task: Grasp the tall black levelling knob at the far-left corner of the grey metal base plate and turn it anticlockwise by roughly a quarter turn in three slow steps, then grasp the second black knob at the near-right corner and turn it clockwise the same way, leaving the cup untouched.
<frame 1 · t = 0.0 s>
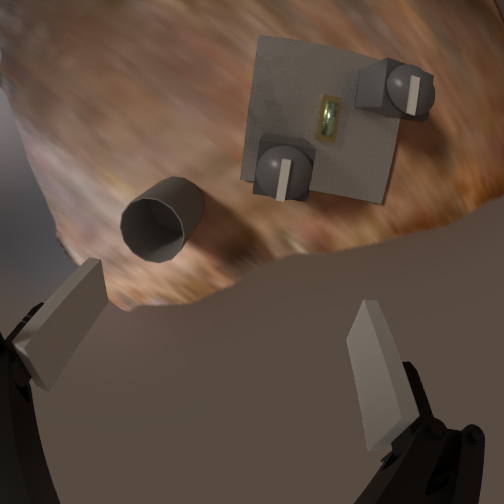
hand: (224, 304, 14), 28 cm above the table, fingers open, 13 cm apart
cup: (177, 203, 41), on the table
bubble vial: (327, 118, 33), resting on base plate
knob a: (393, 91, 25), point 7 cm above the table, hinge at 0.0°
base plate: (325, 118, 34), on the table
knob b: (282, 163, 31), point 7 cm above the table, hinge at 0.0°
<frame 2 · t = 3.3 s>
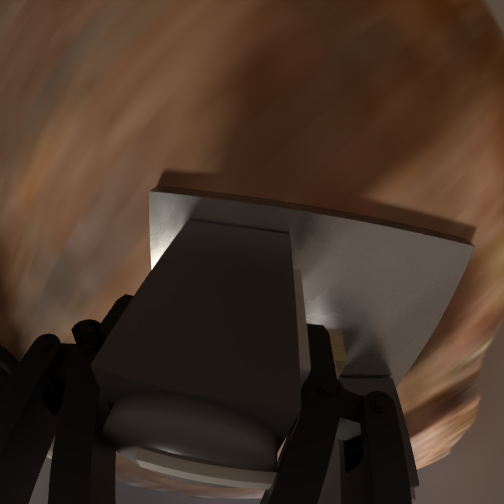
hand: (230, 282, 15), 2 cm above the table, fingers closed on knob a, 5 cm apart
bubble vial: (298, 352, 19), resting on base plate
knob a: (214, 344, 11), point 7 cm above the table, hinge at 0.0°, touching gripper
base plate: (297, 342, 20), on the table
knob b: (361, 454, 16), point 7 cm above the table, hinge at 0.0°
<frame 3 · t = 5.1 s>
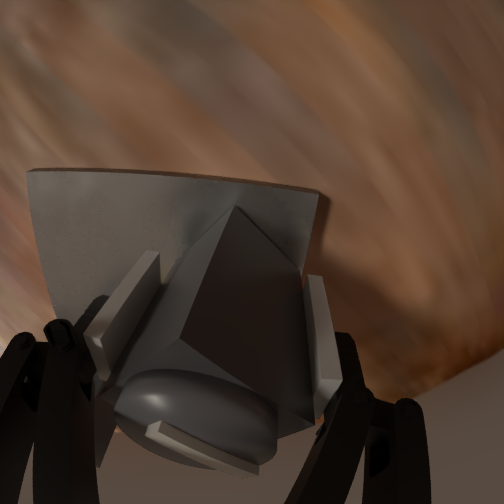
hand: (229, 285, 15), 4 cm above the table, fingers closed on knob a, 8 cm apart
knob a: (218, 333, 12), point 7 cm above the table, hinge at 50.9°, touching gripper
base plate: (152, 305, 21), on the table
knob b: (78, 401, 17), point 7 cm above the table, hinge at 0.0°
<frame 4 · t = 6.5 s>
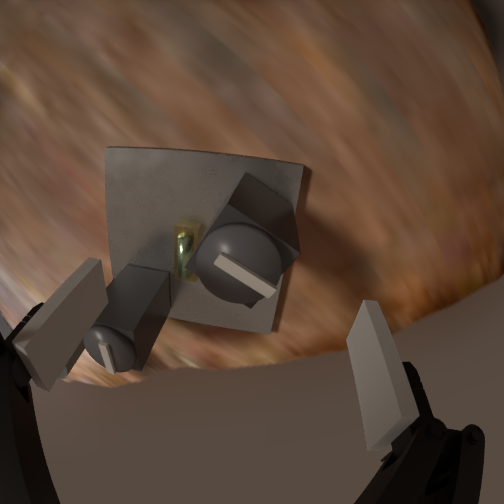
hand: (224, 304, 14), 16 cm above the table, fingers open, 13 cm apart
bubble vial: (189, 248, 30), resting on base plate
knob a: (246, 234, 22), point 7 cm above the table, hinge at 62.5°
base plate: (192, 244, 31), on the table
knob b: (128, 318, 27), point 7 cm above the table, hinge at 0.0°
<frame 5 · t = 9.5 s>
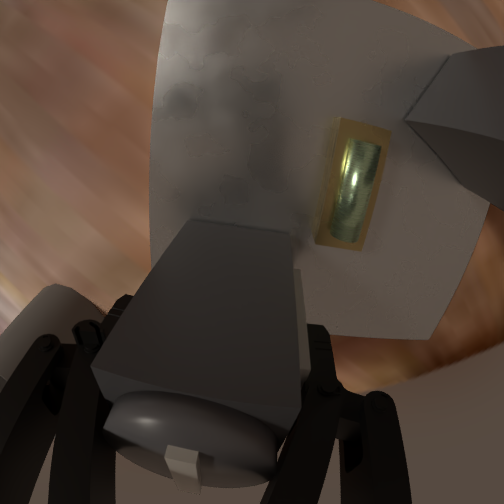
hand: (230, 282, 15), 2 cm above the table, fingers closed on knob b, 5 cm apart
cup: (75, 321, 22), on the table
bubble vial: (346, 180, 14), resting on base plate
base plate: (341, 175, 14), on the table
knob b: (214, 344, 11), point 7 cm above the table, hinge at 0.0°, touching gripper
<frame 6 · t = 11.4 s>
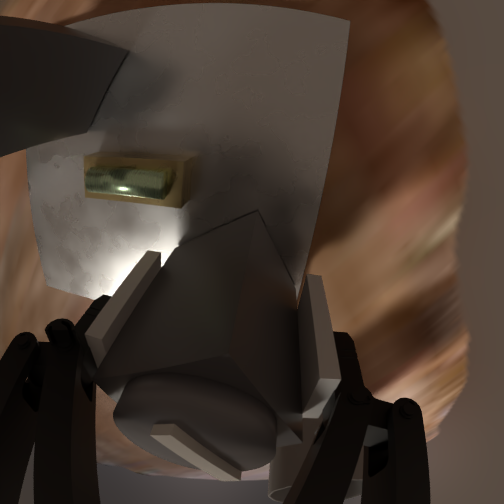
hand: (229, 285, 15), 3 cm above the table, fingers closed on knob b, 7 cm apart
cup: (317, 398, 25), on the table
bubble vial: (141, 173, 15), resting on base plate
knob a: (7, 77, 7), point 7 cm above the table, hinge at 63.3°
base plate: (148, 169, 16), on the table
knob b: (218, 335, 12), point 7 cm above the table, hinge at -56.6°, touching gripper
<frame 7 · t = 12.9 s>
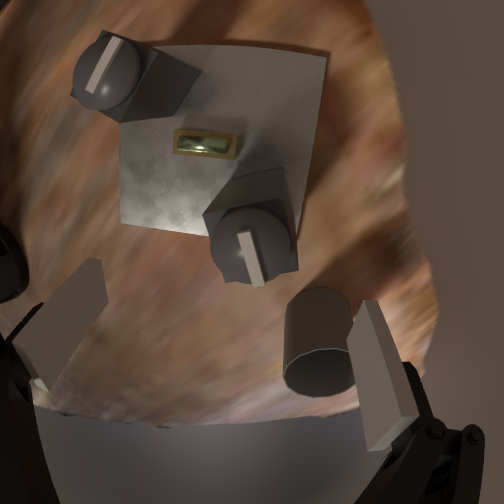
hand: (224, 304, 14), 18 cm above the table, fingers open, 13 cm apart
cup: (317, 313, 36), on the table
bubble vial: (207, 142, 26), resting on base plate
knob a: (137, 77, 19), point 7 cm above the table, hinge at 63.3°
base plate: (210, 141, 27), on the table
knob b: (257, 220, 23), point 7 cm above the table, hinge at -68.4°
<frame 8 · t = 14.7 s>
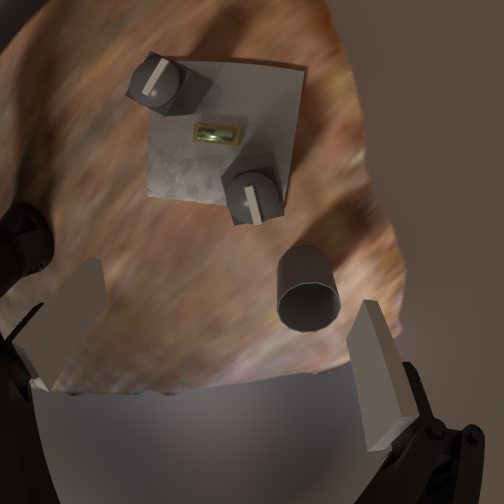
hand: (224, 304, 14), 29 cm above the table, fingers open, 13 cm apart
cup: (303, 268, 46), on the table
bubble vial: (218, 133, 36), resting on base plate
knob a: (171, 85, 28), point 7 cm above the table, hinge at 63.3°
base plate: (219, 133, 37), on the table
knob b: (255, 185, 33), point 7 cm above the table, hinge at -69.1°
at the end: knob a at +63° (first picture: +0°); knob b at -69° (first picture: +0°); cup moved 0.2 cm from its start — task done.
